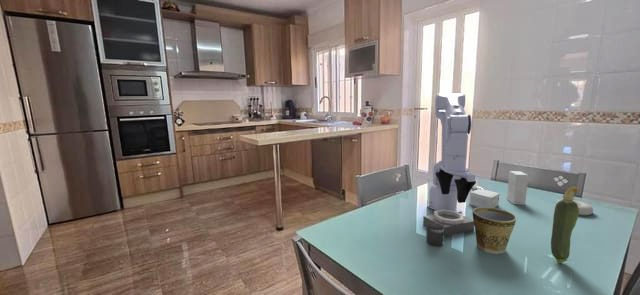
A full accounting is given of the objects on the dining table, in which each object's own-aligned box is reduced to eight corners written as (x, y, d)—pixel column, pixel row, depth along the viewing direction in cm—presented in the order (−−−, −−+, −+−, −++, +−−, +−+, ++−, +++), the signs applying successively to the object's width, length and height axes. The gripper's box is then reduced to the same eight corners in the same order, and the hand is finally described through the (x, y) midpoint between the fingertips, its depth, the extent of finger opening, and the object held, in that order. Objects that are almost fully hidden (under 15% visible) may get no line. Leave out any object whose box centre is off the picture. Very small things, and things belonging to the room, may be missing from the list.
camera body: (423, 224, 90) (423, 212, 90) (451, 218, 94) (451, 207, 94) (444, 236, 82) (444, 223, 81) (473, 229, 86) (474, 217, 85)
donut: (564, 205, 106) (549, 208, 102) (566, 196, 105) (550, 199, 102) (598, 214, 97) (583, 219, 93) (600, 205, 96) (584, 209, 93)
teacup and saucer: (467, 184, 133) (468, 176, 133) (485, 188, 128) (486, 180, 127) (461, 189, 127) (461, 180, 127) (480, 192, 122) (480, 184, 121)
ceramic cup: (513, 262, 69) (517, 224, 67) (468, 251, 74) (471, 216, 72) (510, 240, 79) (514, 207, 78) (471, 232, 85) (474, 201, 83)
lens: (423, 240, 80) (423, 224, 79) (434, 237, 82) (435, 221, 81) (434, 247, 76) (435, 230, 75) (446, 244, 77) (447, 228, 77)
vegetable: (543, 256, 71) (553, 182, 68) (559, 255, 71) (569, 181, 68) (559, 266, 66) (570, 187, 63) (576, 265, 67) (588, 187, 64)
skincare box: (525, 205, 106) (529, 175, 104) (513, 204, 106) (516, 174, 105) (517, 199, 112) (520, 171, 110) (506, 199, 112) (509, 170, 110)
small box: (490, 210, 101) (491, 197, 100) (468, 204, 107) (469, 192, 107) (498, 205, 106) (500, 193, 105) (477, 200, 112) (478, 188, 111)
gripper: (486, 158, 76) (482, 205, 78) (451, 150, 90) (449, 189, 92) (463, 160, 75) (460, 207, 77) (432, 151, 89) (430, 191, 91)
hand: (453, 197), depth 85 cm, fingers open, 7 cm apart
